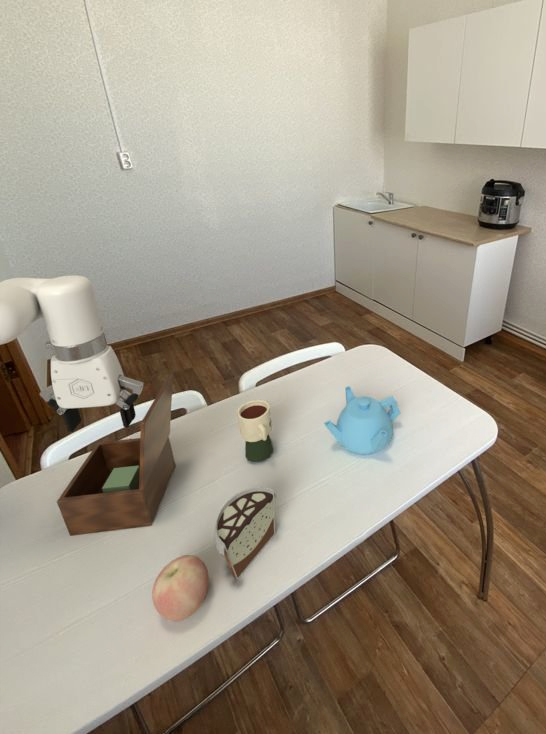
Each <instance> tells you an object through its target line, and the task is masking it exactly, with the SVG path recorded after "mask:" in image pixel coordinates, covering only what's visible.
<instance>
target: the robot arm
mask: <svg viewBox="0 0 546 734" xmlns="http://www.w3.org/2000/svg"><path fill="white" fill-rule="evenodd" d="M96 298H97V297H96V294H95V291H94V286H93V283H92V281H91V280H90V279H89V278H88V277H86V276H83V275H76V274H74V275H73V274H72V275H63V276H62V275H61V276H57V277H53V278H44V277H43V278H42V277H40V278H37V277H11V278H8V279H5V280H2V281H0V346H1V345H5V344H8V343H10V342H13V341H15V340H16V339H17V338H19V337H20V336H21V335H22V334H23V333H24V332H25V331H26V330H27V329H28V328H29V327H30V326H31V325H32V323H35V322H36V321H38V320H40V319H43V322H44V324H45V328H46V331H47V333H48V337H49V340H47V341H46V342H45V348H46V349H47V350H52V352H53V355H52V357H51V358H50V379H51V385H48V386H46V387H45V388H43V389H42V390H41V391H40V392H39V396H40V398H42V399H43V400H44V401H45V402H47V406H49V407H51V408H52V409H55V410H56V413H57V414H58V415H61V416H62V419H63V422H64V425H65V426H66V429H67V432H68V433H71V432H74V431H75V430H76V429H77V427H78V426H79V425H80V424H81V422H82V417H81V414H80V411H79V409H84V408H100V407H109V406H112V405H116V406H118V407H120V410H119V414H120V418H121V422H122V426H123V427H124V428H129V427H130V425H131V424H132V422H133V421H134V420H135V418H136V409H135V405H134V403H135V402H136V401H137V400H138V398H139V397H140V395H141V394H142V391H143V388H144V386H145V383H144V382H143V381H140V380H137V379H134V378H130V377H127V376H125V374H124V371H123V368H122V365H121V363H120V361H119V358H118V356H117V354H116V353H115V351H114V349H113V347H112V346H111V345H108V343H107V338H106V334H105V330H104V327H103V323H102V319H101V314H100V311H99V306H98V301H97V299H96ZM127 389H130V390H131V391H132V392H129V391H128V390H127Z"/></svg>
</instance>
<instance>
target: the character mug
mask: <svg viewBox="0 0 546 734" xmlns="http://www.w3.org/2000/svg"><path fill="white" fill-rule="evenodd" d="M236 413H237V415H236V416H237V420H238V427H239V433H240V438H241V439H242V440H243V441H245V443H244V444H245V447H244V450H245V451H244V452H245V454H244V455H245V458H246V460H247V461H248V462H251V463H260V462H263V461H266V460H268V459H269V458H271V456H272V454H273V453H274V447H273V443H272V439H271V436H270V433H271V432H272V429H273V423H272V413H271V407H270V404H269V402H268V401H266V400H264V399H252V400H248V401H245V402H244V403H242V404H241V405H240V406H239V407H238V409H237V412H236Z"/></svg>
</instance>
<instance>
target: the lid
mask: <svg viewBox="0 0 546 734" xmlns="http://www.w3.org/2000/svg"><path fill="white" fill-rule="evenodd" d="M173 379H174V375H173V374H172V373H171V374H169V375H168V376H167V378H166V379H165V381H164V382H163V385H162V386H161V387H160V390H159V391H158V393H157V394H156V396H155V398H154V400H153V401H152V403H151V405H150V406H149V408H148V409H147V412H146V413H145V415H144V417H143V419H142V420H141V422H140V436H139V438H140V478H139V490H144V487H145V485H146V483H147V481H148V479H149V477H150V475H151V473H152V470H153V468H154V466H155V464H156V462H157V460H158V458H159V456H160V453H161V451H162V449H163V447H164V445H165V443H166V441H167V439H168V437H169V438H170V434H171V421H172V401H173V399H172V397H173V384H174V383H173V381H174V380H173Z"/></svg>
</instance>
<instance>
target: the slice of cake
mask: <svg viewBox="0 0 546 734" xmlns="http://www.w3.org/2000/svg"><path fill="white" fill-rule="evenodd" d="M275 498H278V495H277V492H276V491H275V490H273V489H272V488H268V487H262V486H259V487H251V488H247V489H244V490H242V491H240V492H238V493H236V494H235V495H234V496H232V497H231V498H229V500H227V501H226V503H225V504H224V505H223V506H222V508H221V509H220V511H219V513H218V515H217V518H216V521H215V525H214V534H213V535H214V537H213V539H214V540H213V541H214V545H215V547H216V549H217V551H218V552H219V554H221V556H222V557H224V558H225V561H226V563H227V566H228V569H229V572H230V574H231V575H232V578H234V579H235V580H236V581H238V580H239V579H240V578H241V577H242V576H243V575H244V573H245V572H246V571H247V570H248V569H249V568H250V566H251V565H252V563H253V562H254V561H255V560H256V559H257V557H258V556H259V555H260V554H261V552H262V551H263V550H264V549H265V548H266V546H268V544H269V543H270V541H271V540H272V539H273V538H274V537H275V536H276V503H275V502H276V501H275V500H276V499H275Z"/></svg>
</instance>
